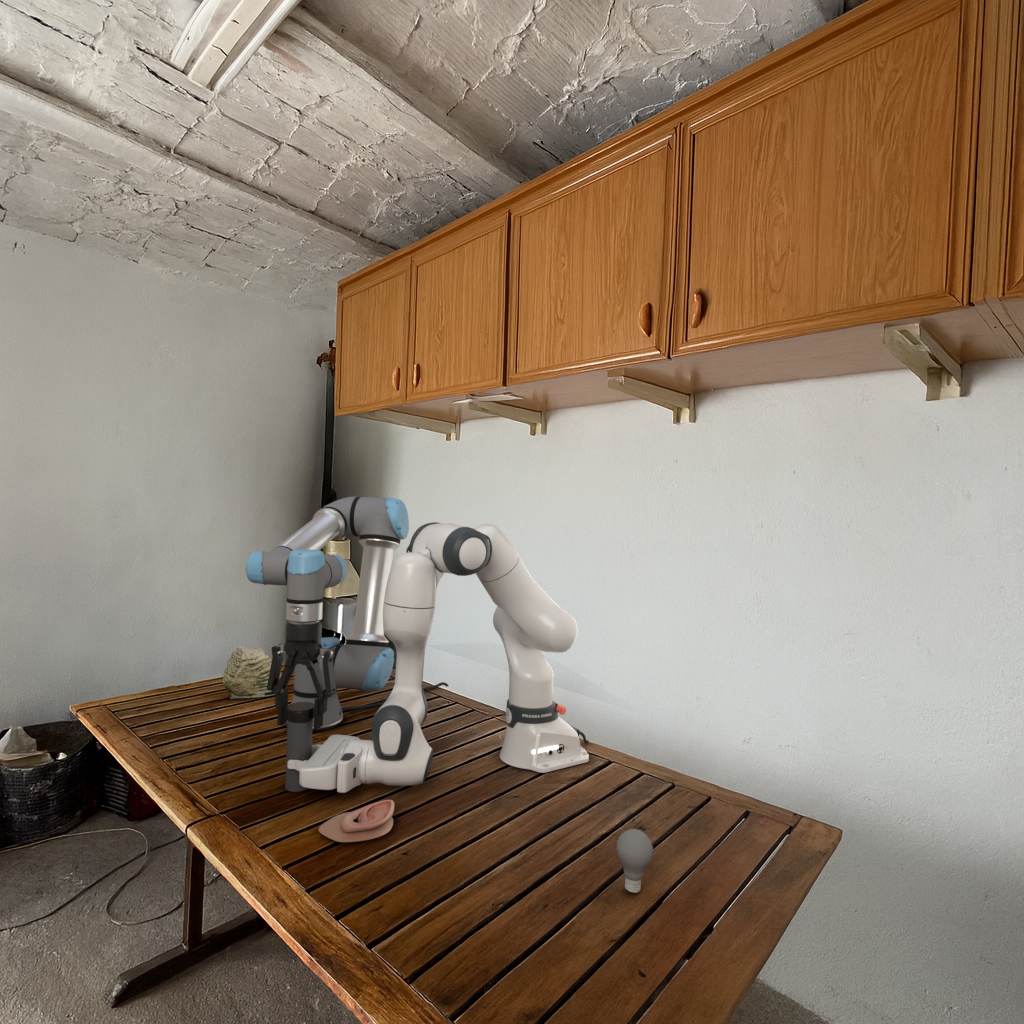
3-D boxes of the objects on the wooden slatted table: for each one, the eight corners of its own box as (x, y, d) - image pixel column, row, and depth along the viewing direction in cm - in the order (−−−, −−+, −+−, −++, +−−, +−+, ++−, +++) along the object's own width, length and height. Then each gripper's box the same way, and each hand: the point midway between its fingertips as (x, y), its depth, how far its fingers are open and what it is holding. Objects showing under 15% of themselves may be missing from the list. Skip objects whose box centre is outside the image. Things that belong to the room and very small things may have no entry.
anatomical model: (310, 816, 117) (339, 789, 129) (309, 837, 117) (338, 808, 129) (377, 827, 115) (401, 798, 126) (376, 848, 115) (400, 818, 126)
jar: (301, 778, 142) (304, 703, 141) (315, 786, 138) (318, 709, 138) (280, 786, 138) (283, 709, 137) (293, 794, 134) (296, 715, 134)
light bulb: (610, 879, 108) (613, 822, 108) (644, 879, 109) (647, 822, 109) (619, 902, 102) (622, 840, 102) (655, 901, 103) (658, 840, 103)
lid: (296, 724, 133) (296, 712, 133) (280, 716, 137) (280, 705, 137) (320, 717, 138) (321, 706, 138) (304, 710, 142) (304, 699, 142)
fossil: (218, 695, 195) (220, 647, 195) (278, 685, 208) (279, 640, 207) (228, 703, 189) (230, 653, 188) (289, 692, 201) (290, 645, 201)
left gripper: (250, 620, 136) (247, 726, 136) (340, 628, 132) (336, 737, 132) (270, 614, 143) (266, 714, 143) (356, 621, 139) (351, 724, 139)
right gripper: (371, 729, 148) (312, 725, 148) (343, 766, 127) (275, 761, 128) (369, 756, 148) (311, 752, 148) (342, 797, 127) (274, 792, 128)
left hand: (300, 725), depth 138 cm, fingers open, 8 cm apart
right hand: (294, 757), depth 138 cm, fingers closed on jar, 5 cm apart
